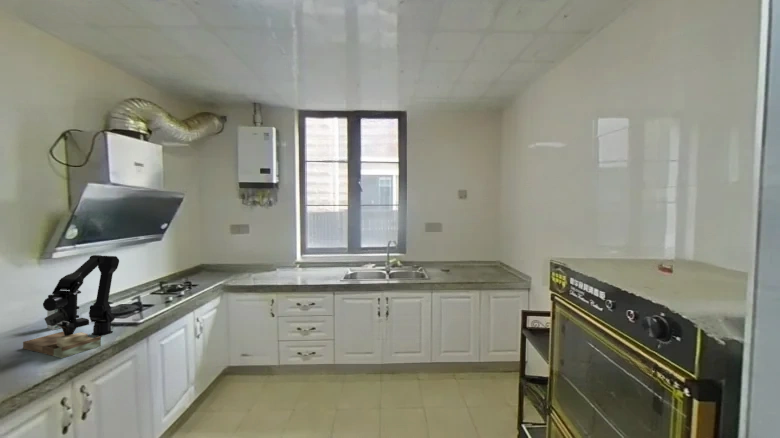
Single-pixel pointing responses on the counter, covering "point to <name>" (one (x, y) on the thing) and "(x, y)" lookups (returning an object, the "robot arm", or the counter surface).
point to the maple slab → (71, 339)
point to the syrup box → (50, 325)
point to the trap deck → (50, 347)
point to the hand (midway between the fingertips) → (68, 339)
